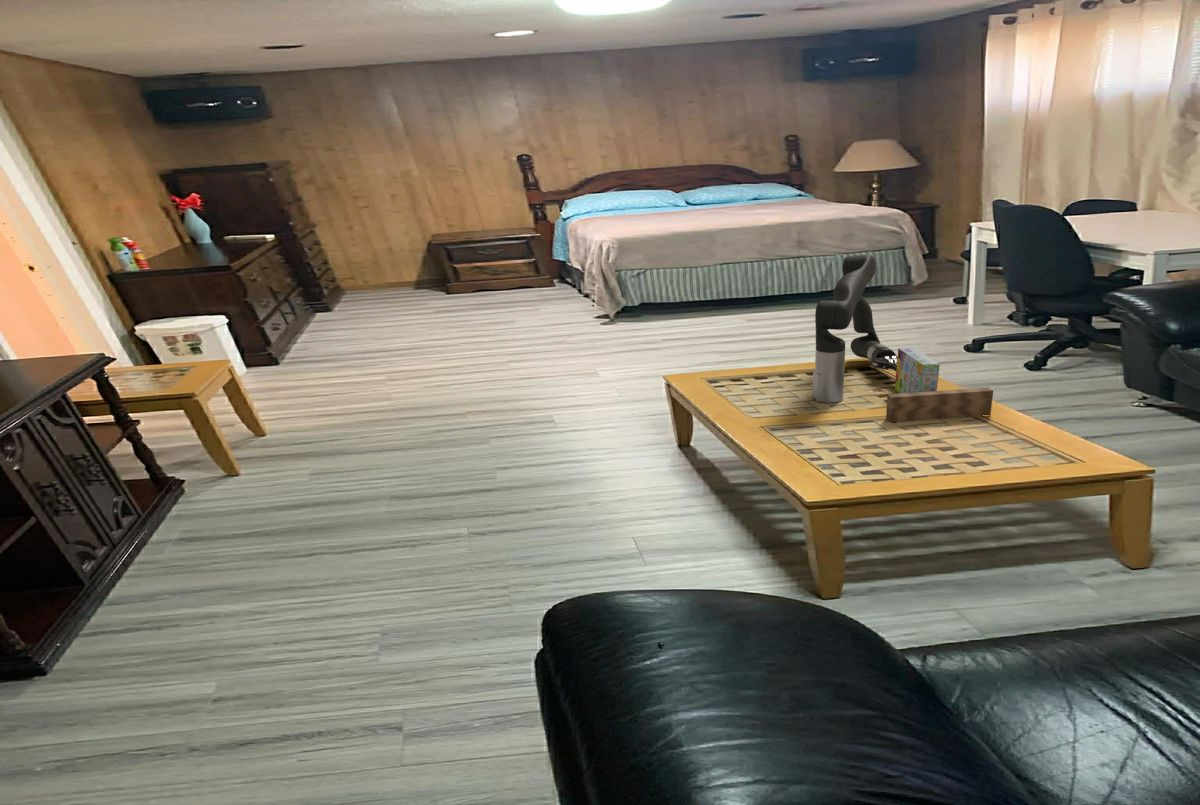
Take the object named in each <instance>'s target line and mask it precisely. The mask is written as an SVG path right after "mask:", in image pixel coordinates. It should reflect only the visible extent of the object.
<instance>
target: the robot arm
mask: <svg viewBox="0 0 1200 805" xmlns="http://www.w3.org/2000/svg"><path fill="white" fill-rule="evenodd" d="M841 267H842V268H841V270H842V277H841V278H839V279H838V281H837V283H836V284H835V286H834V288H833V292H832V293H833V298H834V300H819V302H818V303H817V304H816V307H815V316H814V320H815V321H814V322H815V358H814V359H815V360H814V361H815V365H814V366H815V369H813V371H812V373H813V374H812V397H813V399H814V398H815V401H816V403H830V404H832V403H838V402H841V401H843V400H844V385H845V365H846V364H845V363H846V362H845V361H846V359H845V358H846V341H845V340H844V339H842V338H840V337H838V336H837V335H836V336H835V335H834V334H832V333H831V332H830V331H829V330H837V331H840V330H841V331H842V330H846V329H847V328H848V327H849V325H850V323H851V321H852V322H853V330H854V331H855V333H857V334H866V335H862V336H858V337H855V338H853V339H852V340H851V342H850V351H851V352H852V353H853V354H854V355H855V356H856V357H858V358H863V359H867V360H869V361H870V362H871V363H872V368H875V369H881V370H885V371H888V370H889V371H890V370H891V371H894V372H896V369H897V357H898V355H897V354H896V352H895V351H893V349H891V348H890V347H887V346H886V345H885V344H882V343H881V342H880V339H879V337H878V335H877V332H876V329H875V327H874V319H873V311H872V308H871V305H870V304H869V302H868V301H867V300H866V299H865V297H864V296H863V293H864V291H865V289H866V286H867V285H868V284H869V283H870V282H871V281H872V279H873V278H874V276H875V273H876V270H877V262H876V259H875V257H874V256H872V255H871V254H857V255H848V256H845V257H844V258H843V261H842V266H841Z"/></svg>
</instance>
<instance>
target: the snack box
mask: <svg viewBox="0 0 1200 805" xmlns="http://www.w3.org/2000/svg"><path fill="white" fill-rule="evenodd" d="M940 365H941V364H940V363H938V362H937V361H935V360H934V359H932V358H931V357H929V356H927V354H924V353H923V352H921V351H919V350H918V349H917V348H915V347H911V346H910V347H898V349H897V369H896V371H895V381H894V383H895V384H894V390H895V391H896V392H897V394H900V393H915V392H929V391H938V383H939V374H940Z"/></svg>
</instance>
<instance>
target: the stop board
mask: <svg viewBox="0 0 1200 805" xmlns="http://www.w3.org/2000/svg"><path fill="white" fill-rule="evenodd" d="M886 397H887V399H886V412H885V415H886V416H885V420H886V421H888V422H889V423H897V422H898V423H901V422H916V421H917V422H919V421H930V420H945V419H946V420H947V419H959V418H960V419H962V418H976V417H977V418H978V417H984V416H983V415H990V416H991V414H992V405H993V399H994V398H993V397H994V389H992V388H990V387H988V386H987V387H977V388H976V387H975V388H974V387H973V388H961V389H945V390H937V391H929V392H915V393H888V394H887V396H886Z"/></svg>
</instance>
